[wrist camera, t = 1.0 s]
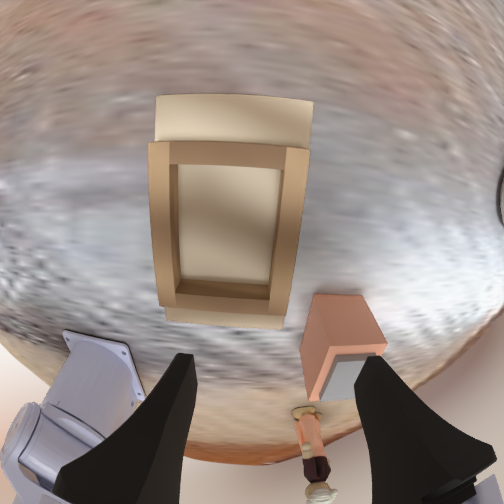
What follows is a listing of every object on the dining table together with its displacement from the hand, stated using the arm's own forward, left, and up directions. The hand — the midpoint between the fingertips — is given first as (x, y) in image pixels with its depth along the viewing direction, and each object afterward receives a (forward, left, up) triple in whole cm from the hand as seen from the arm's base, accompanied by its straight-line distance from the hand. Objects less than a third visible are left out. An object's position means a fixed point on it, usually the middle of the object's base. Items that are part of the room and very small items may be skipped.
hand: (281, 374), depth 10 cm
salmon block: (-5, -5, -9) cm, 12 cm away
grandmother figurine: (-20, -7, -9) cm, 23 cm away
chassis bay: (+3, +3, -9) cm, 10 cm away
